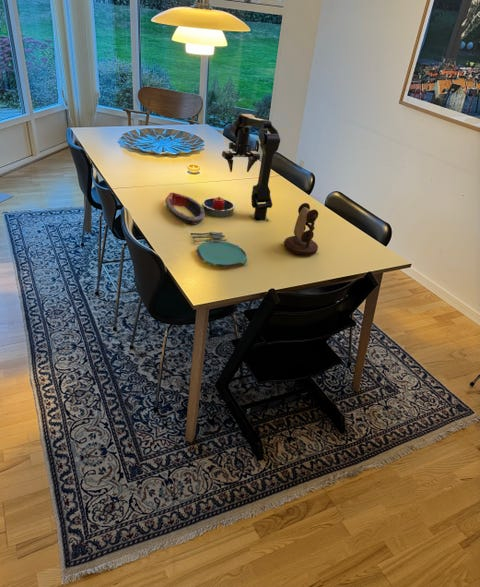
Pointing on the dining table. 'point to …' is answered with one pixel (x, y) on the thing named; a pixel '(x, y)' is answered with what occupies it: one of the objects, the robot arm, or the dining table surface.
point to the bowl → (209, 210)
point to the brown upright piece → (303, 232)
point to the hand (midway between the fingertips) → (239, 172)
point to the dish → (187, 203)
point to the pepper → (218, 203)
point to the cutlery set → (219, 251)
